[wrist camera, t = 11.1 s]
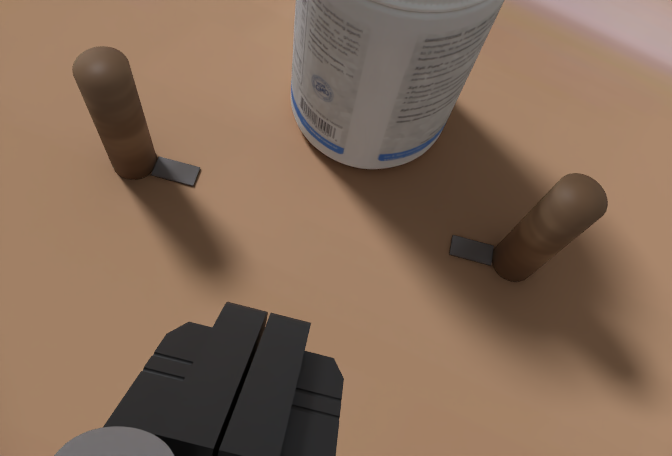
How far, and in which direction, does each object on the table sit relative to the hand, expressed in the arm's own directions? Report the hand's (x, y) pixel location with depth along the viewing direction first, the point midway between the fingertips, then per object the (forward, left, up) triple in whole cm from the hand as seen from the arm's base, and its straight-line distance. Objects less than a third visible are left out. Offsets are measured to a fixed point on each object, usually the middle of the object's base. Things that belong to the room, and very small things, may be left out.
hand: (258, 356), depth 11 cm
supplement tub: (+1, +20, -20) cm, 29 cm away
